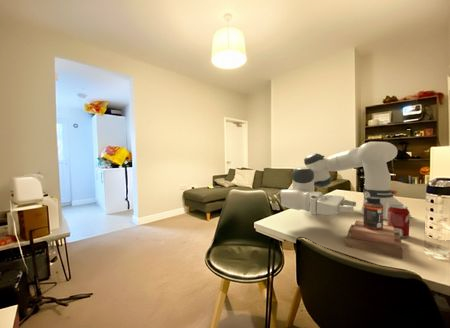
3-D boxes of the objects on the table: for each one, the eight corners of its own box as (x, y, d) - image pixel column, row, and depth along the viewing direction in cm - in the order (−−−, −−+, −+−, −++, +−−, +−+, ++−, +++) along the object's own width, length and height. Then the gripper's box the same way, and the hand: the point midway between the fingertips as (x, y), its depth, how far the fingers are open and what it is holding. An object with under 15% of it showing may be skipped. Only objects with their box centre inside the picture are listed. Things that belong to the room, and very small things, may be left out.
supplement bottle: (385, 231, 75) (386, 199, 74) (365, 229, 77) (366, 198, 76) (379, 225, 80) (380, 196, 80) (361, 224, 82) (361, 195, 82)
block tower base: (350, 232, 90) (350, 218, 90) (399, 241, 80) (399, 225, 80) (345, 245, 77) (345, 229, 77) (402, 258, 68) (402, 240, 67)
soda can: (402, 240, 81) (403, 209, 81) (383, 233, 88) (384, 205, 87) (412, 236, 84) (413, 207, 83) (393, 231, 90) (394, 203, 90)
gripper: (322, 204, 98) (357, 208, 90) (309, 215, 82) (351, 222, 73) (322, 190, 98) (357, 194, 89) (309, 199, 81) (351, 204, 73)
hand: (354, 206), depth 81 cm, fingers open, 8 cm apart
